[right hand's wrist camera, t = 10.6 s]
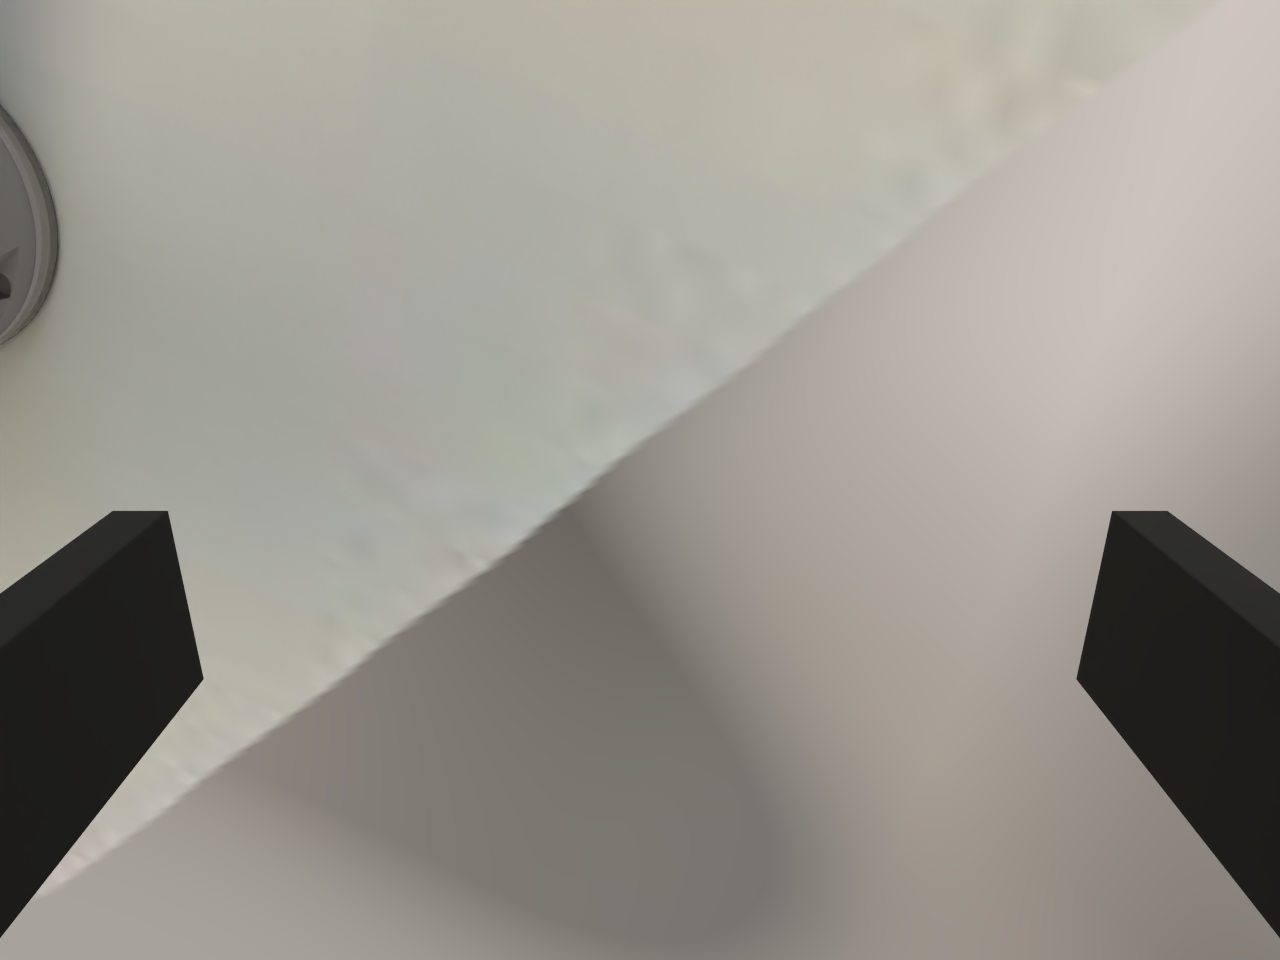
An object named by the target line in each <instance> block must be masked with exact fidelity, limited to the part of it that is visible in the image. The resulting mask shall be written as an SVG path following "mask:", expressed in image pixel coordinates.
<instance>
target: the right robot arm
mask: <svg viewBox="0 0 1280 960" xmlns="http://www.w3.org/2000/svg"><path fill="white" fill-rule="evenodd" d="M56 256H57V227H56V219H55V212H54V208H53V203H52V199H51V195H50V192H49V189H48V186H47V183H46V180H45V178H44V175H43V173H42V170H41V168H40V165H39V163H38V161H37V159H36V157H35V155H34V154H33V152H32V150H31V148H30V146H29V145H28V143H27V141H26V140H25V138H24V136H23V135H22V133H21V132H20V130H19V129H18V128H17V126H16V125H15V123H14V122H13V121H12V119H11V118H10V117H9V116H8V114H7V113H6V112H5V111H4V110H3V108H2V107H1V106H0V345H1V344H2V343H4V342H6V341H7V340H9V339H10V338H12V337H13V336H14V335H16V334H17V333H18V332H19V331H21V330H22V329H23V328H24V327H25V326H26V325H27V324H28V323H29V322H30V320H31V319H32V318H33V316H34V315H35V314H36V313H37V311H38V310H39V308H40V306H41V304H42V303H43V301H44V299H45V297H46V295H47V292H48V290H49V288H50V284H51V281H52V278H53V275H54V269H55V264H56ZM202 680H203V674H202V669H201V665H200V660H199V655H198V651H197V646H196V641H195V637H194V632H193V627H192V622H191V618H190V613H189V608H188V604H187V599H186V594H185V590H184V585H183V580H182V575H181V571H180V566H179V561H178V557H177V552H176V547H175V543H174V538H173V533H172V528H171V524H170V519H169V514H168V511H112V512H111V513H109V514H108V515H107V516H105V517H104V518H103V519H101V520H100V521H98V522H97V523H96V524H94V525H93V526H92V527H90V528H89V529H88V530H86V531H85V532H83V533H82V534H81V535H79V536H78V537H77V538H75V539H74V540H73V541H71V542H70V543H69V544H67V545H66V546H64V547H63V548H62V549H60V550H59V551H58V552H56V553H55V554H54V555H52V556H51V557H49V558H48V559H47V560H45V561H44V562H43V563H41V564H40V565H39V566H37V567H36V568H35V569H33V570H32V571H30V572H29V573H28V574H26V575H25V576H24V577H22V578H21V579H20V580H18V581H17V582H15V583H14V584H13V585H11V586H10V587H9V588H7V589H6V590H5V591H3V592H2V593H0V937H1V936H2V935H3V934H4V932H5V931H6V930H7V929H8V927H9V926H10V925H11V924H12V922H13V921H14V920H15V918H16V917H17V916H18V914H19V913H20V912H21V911H22V909H23V908H24V907H25V906H26V904H27V903H28V902H29V901H30V899H31V898H32V897H33V896H34V894H35V893H36V892H37V890H38V889H39V888H40V887H41V885H42V884H43V883H44V882H45V880H46V879H47V878H48V876H49V875H50V874H51V873H52V871H53V870H54V869H55V868H56V866H57V865H58V864H59V862H60V861H61V860H62V859H63V857H64V856H65V855H66V854H67V852H68V851H69V850H70V848H71V847H72V846H73V845H74V843H75V842H76V841H77V840H78V838H79V837H80V836H81V834H82V833H83V832H84V831H85V829H86V828H87V827H88V826H89V824H90V823H91V822H92V820H93V819H94V818H95V817H96V815H97V814H98V813H99V811H100V810H101V809H102V808H103V806H104V805H105V804H106V803H107V801H108V800H109V799H110V797H111V796H112V795H113V794H114V792H115V791H116V790H117V789H118V787H119V786H120V785H121V783H122V782H123V781H124V780H125V778H126V777H127V776H128V775H129V773H130V772H131V771H132V769H133V768H134V767H135V766H136V764H137V763H138V762H139V761H140V759H141V758H142V757H143V755H144V754H145V753H146V752H147V750H148V749H149V748H150V747H151V745H152V744H153V743H154V741H155V740H156V739H157V738H158V736H159V735H160V734H161V733H162V731H163V730H164V729H165V727H166V726H167V725H168V724H169V722H170V721H171V720H172V719H173V717H174V716H175V715H176V713H177V712H178V711H179V710H180V708H181V707H182V706H183V705H184V703H185V702H186V701H187V699H188V698H189V697H190V696H191V694H192V693H193V692H194V691H195V689H196V688H197V687H198V685H199V684H200V683H201V682H202ZM1077 680H1078V682H1079V683H1080V684H1081V685H1082V687H1083V688H1084V689H1085V691H1086V692H1087V693H1088V694H1089V696H1090V697H1091V698H1092V699H1093V701H1094V702H1095V703H1096V704H1097V706H1098V707H1099V708H1100V710H1101V711H1102V712H1103V713H1104V715H1105V716H1106V717H1107V719H1108V720H1109V721H1110V722H1111V724H1112V725H1113V726H1114V727H1115V729H1116V730H1117V731H1118V733H1119V734H1120V735H1121V736H1122V738H1123V739H1124V740H1125V741H1126V743H1127V744H1128V745H1129V747H1130V748H1131V749H1132V750H1133V752H1134V753H1135V754H1136V755H1137V757H1138V758H1139V759H1140V761H1141V762H1142V763H1143V764H1144V766H1145V767H1146V768H1147V769H1148V771H1149V772H1150V773H1151V775H1152V776H1153V777H1154V778H1155V780H1156V781H1157V782H1158V783H1159V785H1160V786H1161V787H1162V788H1163V790H1164V791H1165V792H1166V794H1167V795H1168V796H1169V797H1170V799H1171V800H1172V801H1173V803H1174V804H1175V805H1176V806H1177V808H1178V809H1179V810H1180V812H1181V813H1182V814H1183V815H1184V817H1185V818H1186V819H1187V820H1188V822H1189V823H1190V824H1191V826H1192V827H1193V828H1194V829H1195V831H1196V832H1197V833H1198V834H1199V836H1200V837H1201V838H1202V839H1203V841H1204V842H1205V843H1206V845H1207V846H1208V847H1209V848H1210V850H1211V851H1212V852H1213V854H1214V855H1215V856H1216V857H1217V859H1218V860H1219V861H1220V862H1221V864H1222V865H1223V866H1224V867H1225V869H1226V870H1227V871H1228V872H1229V874H1230V875H1231V876H1232V878H1233V879H1234V880H1235V882H1236V883H1237V884H1238V885H1239V887H1240V888H1241V889H1242V890H1243V892H1244V893H1245V894H1246V895H1247V897H1248V898H1249V899H1250V901H1251V902H1252V903H1253V904H1254V906H1255V907H1256V908H1257V910H1258V911H1259V912H1260V913H1261V915H1262V916H1263V917H1264V918H1265V920H1266V921H1267V922H1268V924H1269V925H1270V926H1271V927H1272V929H1273V930H1274V931H1275V932H1276V934H1277V935H1278V936H1279V938H1280V593H1278V592H1277V591H1275V590H1274V589H1273V588H1271V587H1270V586H1269V585H1267V584H1266V583H1264V582H1263V581H1262V580H1260V579H1259V578H1258V577H1256V576H1255V575H1254V574H1252V573H1251V572H1250V571H1248V570H1247V569H1245V568H1244V567H1243V566H1241V565H1240V564H1239V563H1237V562H1236V561H1235V560H1233V559H1232V558H1230V557H1229V556H1228V555H1226V554H1225V553H1224V552H1222V551H1221V550H1220V549H1218V548H1217V547H1216V546H1214V545H1213V544H1211V543H1210V542H1209V541H1207V540H1206V539H1205V538H1203V537H1202V536H1201V535H1199V534H1198V533H1197V532H1195V531H1194V530H1192V529H1191V528H1190V527H1188V526H1187V525H1186V524H1184V523H1183V522H1182V521H1180V520H1179V519H1177V518H1176V517H1175V516H1173V515H1172V514H1171V513H1169V512H1168V511H1112V514H1111V519H1110V524H1109V528H1108V533H1107V538H1106V543H1105V547H1104V552H1103V557H1102V561H1101V566H1100V571H1099V575H1098V580H1097V585H1096V590H1095V594H1094V599H1093V604H1092V608H1091V613H1090V618H1089V623H1088V627H1087V632H1086V636H1085V641H1084V646H1083V651H1082V655H1081V660H1080V665H1079V669H1078V674H1077Z"/></svg>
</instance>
